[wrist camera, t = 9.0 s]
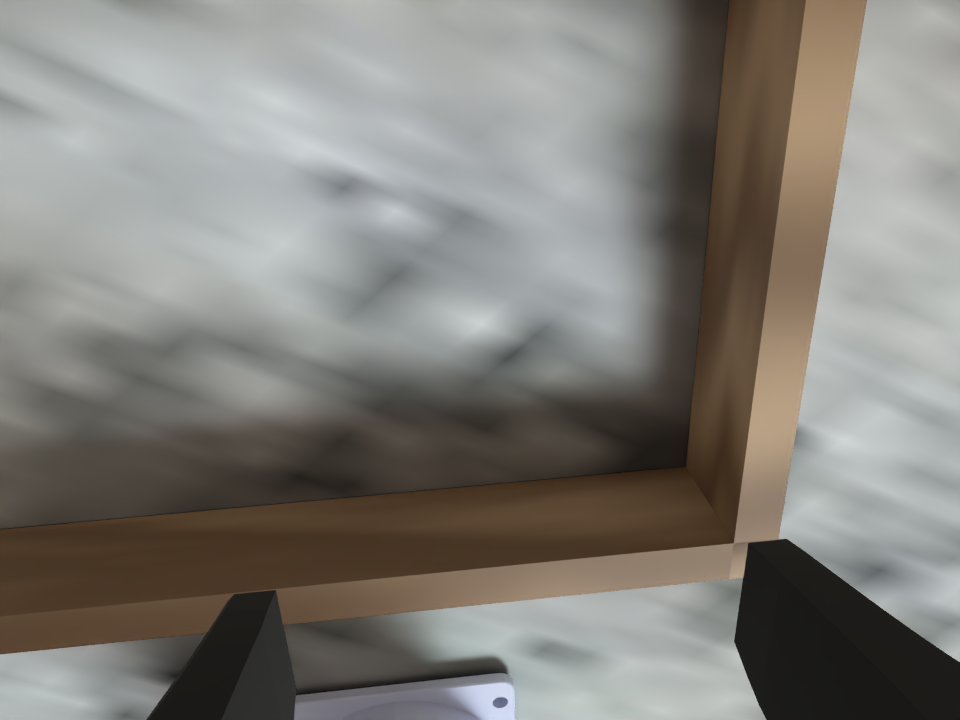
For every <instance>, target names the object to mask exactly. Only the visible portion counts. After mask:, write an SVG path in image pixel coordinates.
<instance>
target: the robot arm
mask: <svg viewBox="0 0 960 720" xmlns="http://www.w3.org/2000/svg"><path fill="white" fill-rule="evenodd" d="M734 642H735V644H736V647H737V650H738V652H739V655H740V658H741V660H742V663H743V666H744V668H745V671H746V674H747V676H748V679H749V681H750V684H751V686H752V689H753V691H754V694H755V696H756V698H757V701H758V703H759V706H760V708H761V710H762V711H763V713H764V715H765V717H766V719H767V720H960V662H958V661H957V660H955V659H954V658H952V657H951V656H949V655H947V654H946V653H945V652H943V651H942V650H940V649H939V648H937V647H936V646H934V645H933V644H931V643H930V642H928V641H927V640H925V639H924V638H922V637H921V636H920V635H918V634H917V633H915V632H914V631H912V630H911V629H910V628H908V627H907V626H905V625H904V624H903V623H901V622H900V621H898V620H897V619H896V618H894V617H893V616H891V615H890V614H889V613H887V612H886V611H884V610H883V609H882V608H880V607H879V606H878V605H876V604H875V603H873V602H872V601H871V600H869V599H868V598H867V597H865V596H864V595H862V594H861V593H860V592H858V591H857V590H856V589H854V588H853V587H852V586H850V585H849V584H848V583H846V582H845V581H844V580H842V579H841V578H840V577H838V576H837V575H836V574H834V573H833V572H832V571H830V570H829V569H827V568H826V567H825V566H823V565H822V564H821V563H819V562H818V561H817V560H815V559H814V558H813V557H811V556H810V555H809V554H807V553H806V552H804V551H803V550H802V549H800V548H799V547H797V546H796V545H795V544H793V543H792V542H790V541H789V540H787V539H781V540H771V541H761V542H751V543H748V549H747V556H746V563H745V570H744V577H743V584H742V591H741V598H740V605H739V612H738V619H737V626H736V633H735V640H734ZM499 697H502V698H499ZM147 720H515V693H514V684H513V680H512V678H511V677H510V676H509V675H507V674H504V673H494V674H485V675H476V676H467V677H458V678H448V679H439V680H430V681H421V682H412V683H403V684H394V685H385V686H376V687H367V688H358V689H349V690H340V691H330V692H321V693H312V694H303V695H296V686H295V681H294V676H293V671H292V666H291V661H290V656H289V652H288V647H287V642H286V637H285V632H284V627H283V622H282V617H281V612H280V608H279V603H278V598H277V593H276V590H270V591H260V592H250V593H240V594H234V595H233V596H232V597H231V598H230V599H229V600H228V601H227V603H226V604H225V606H224V607H223V609H222V611H221V612H220V614H219V615H218V617H217V618H216V620H215V621H214V623H213V624H212V626H211V628H210V629H209V631H208V632H207V634H206V635H205V637H204V638H203V640H202V641H201V643H200V644H199V646H198V647H197V649H196V650H195V652H194V653H193V655H192V656H191V658H190V659H189V661H188V662H187V664H186V665H185V666H184V668H183V669H182V671H181V672H180V674H179V675H178V677H177V678H176V679H175V681H174V682H173V684H172V685H171V686H170V688H169V689H168V691H167V692H166V693H165V695H164V696H163V697H162V699H161V700H160V702H159V703H158V704H157V706H156V707H155V709H154V710H153V711H152V713H151V714H150V716H149V717H148V718H147Z"/></svg>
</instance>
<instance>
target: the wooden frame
mask: <svg viewBox="0 0 960 720" xmlns="http://www.w3.org/2000/svg"><path fill="white" fill-rule="evenodd" d="M866 3H867V0H729V10H728V21H727V32H726V42H725V53H724V64H723V75H722V85H721V96H720V107H719V118H718V128H717V139H716V150H715V161H714V171H713V182H712V193H711V204H710V214H709V225H708V236H707V247H706V257H705V268H704V279H703V289H702V300H701V311H700V322H699V332H698V343H697V354H696V365H695V375H694V386H693V397H692V408H691V418H690V429H689V440H688V451H687V461H686V467H678V468H667V469H656V470H645V471H634V472H623V473H612V474H601V475H590V476H579V477H569V478H558V479H547V480H536V481H525V482H514V483H503V484H492V485H481V486H470V487H460V488H449V489H438V490H427V491H416V492H405V493H394V494H383V495H372V496H361V497H351V498H340V499H329V500H318V501H307V502H296V503H285V504H274V505H263V506H252V507H241V508H231V509H220V510H209V511H198V512H187V513H176V514H165V515H154V516H143V517H132V518H122V519H111V520H100V521H89V522H78V523H67V524H56V525H45V526H34V527H23V528H13V529H2V530H0V654H8V653H18V652H27V651H37V650H47V649H57V648H66V647H76V646H86V645H95V644H105V643H115V642H124V641H134V640H144V639H153V638H163V637H173V636H182V635H192V634H202V633H207V632H208V631H209V629H210V628H211V626H212V624H213V623H214V621H215V620H216V618H217V617H218V615H219V614H220V612H221V611H222V609H223V607H224V606H225V604H226V603H227V601H228V600H229V599H230V598H231V597H232V596H233V595H234V594H240V593H250V592H260V591H270V590H276V593H277V598H278V603H279V608H280V612H281V617H282V622H283V625H289V624H298V623H308V622H318V621H328V620H337V619H347V618H357V617H366V616H376V615H386V614H395V613H405V612H415V611H424V610H434V609H444V608H453V607H463V606H473V605H482V604H492V603H502V602H511V601H521V600H531V599H540V598H550V597H560V596H569V595H579V594H589V593H599V592H608V591H618V590H628V589H637V588H647V587H657V586H666V585H676V584H686V583H695V582H705V581H715V580H724V579H734V578H743V577H744V570H745V563H746V556H747V549H748V543H751V542H761V541H771V540H778V538H779V532H780V526H781V520H782V514H783V507H784V501H785V495H786V489H787V483H788V477H789V471H790V465H791V459H792V453H793V447H794V441H795V434H796V428H797V422H798V416H799V410H800V404H801V398H802V392H803V386H804V380H805V374H806V368H807V362H808V355H809V349H810V343H811V337H812V331H813V325H814V319H815V313H816V307H817V301H818V295H819V289H820V282H821V276H822V270H823V264H824V258H825V252H826V246H827V240H828V234H829V228H830V222H831V216H832V209H833V203H834V197H835V191H836V185H837V179H838V173H839V167H840V161H841V155H842V149H843V143H844V136H845V130H846V124H847V118H848V112H849V106H850V100H851V94H852V88H853V82H854V76H855V70H856V63H857V57H858V51H859V45H860V39H861V33H862V27H863V21H864V15H865V9H866Z"/></svg>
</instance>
